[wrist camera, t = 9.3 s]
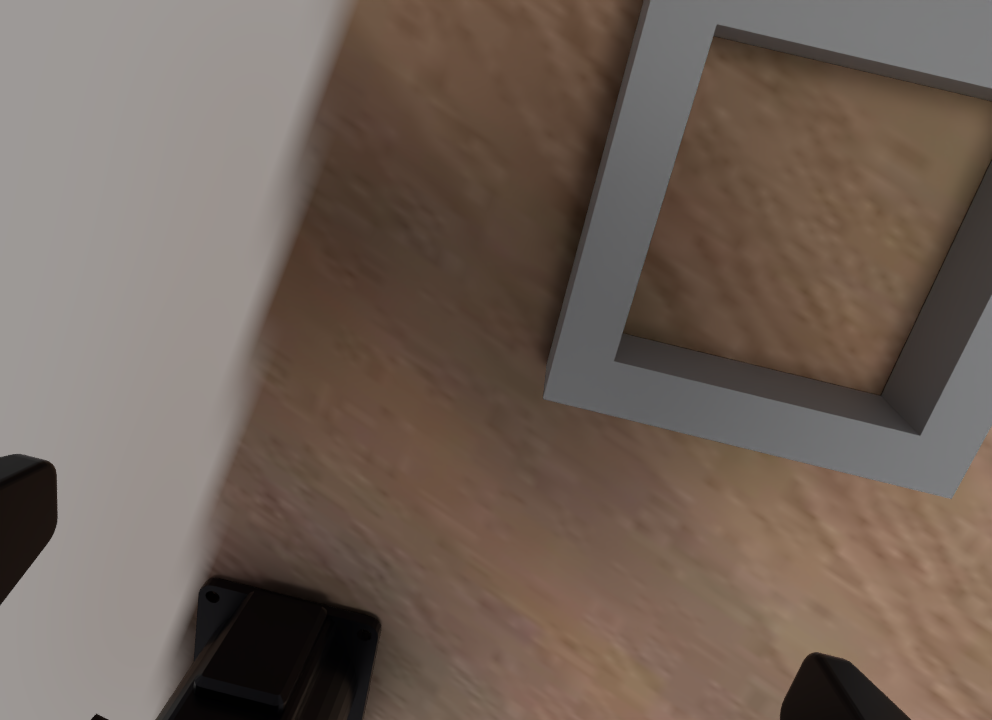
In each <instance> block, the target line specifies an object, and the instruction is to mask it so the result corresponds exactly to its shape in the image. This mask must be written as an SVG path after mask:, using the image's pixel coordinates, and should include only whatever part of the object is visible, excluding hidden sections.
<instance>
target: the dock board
mask: <svg viewBox="0 0 992 720" xmlns="http://www.w3.org/2000/svg"><path fill="white" fill-rule="evenodd" d="M713 36H716V37H720V38H724V39H729V40H733V41H737V42H741V43H746V44H750V45H754V46H758V47H763V48H767V49H771V50H776V51H780V52H784V53H788V54H793V55H797V56H801V57H805V58H810V59H814V60H818V61H822V62H827V63H831V64H835V65H839V66H844V67H848V68H852V69H857V70H861V71H865V72H869V73H874V74H878V75H882V76H886V77H891V78H895V79H899V80H903V81H908V82H912V83H916V84H921V85H925V86H929V87H933V88H938V89H942V90H946V91H950V92H955V93H959V94H963V95H967V96H972V97H976V98H980V99H985V100H989V101H992V0H644V1H643V5H642V8H641V12H640V16H639V20H638V23H637V27H636V31H635V35H634V38H633V42H632V46H631V50H630V53H629V57H628V61H627V65H626V68H625V72H624V76H623V80H622V83H621V87H620V91H619V95H618V98H617V102H616V106H615V110H614V113H613V117H612V121H611V125H610V128H609V132H608V136H607V140H606V143H605V147H604V151H603V155H602V158H601V162H600V166H599V170H598V173H597V177H596V181H595V185H594V188H593V192H592V196H591V200H590V203H589V207H588V211H587V215H586V218H585V222H584V226H583V230H582V233H581V237H580V241H579V245H578V248H577V252H576V256H575V260H574V263H573V267H572V271H571V275H570V278H569V282H568V286H567V290H566V293H565V297H564V301H563V305H562V308H561V312H560V316H559V320H558V323H557V327H556V331H555V335H554V338H553V342H552V346H551V350H550V353H549V357H548V361H547V365H546V375H545V384H544V394H543V399H545V400H549V401H553V402H557V403H561V404H565V405H570V406H574V407H578V408H582V409H586V410H590V411H594V412H598V413H602V414H606V415H610V416H615V417H619V418H623V419H627V420H631V421H635V422H639V423H643V424H647V425H651V426H655V427H660V428H664V429H668V430H672V431H676V432H680V433H684V434H688V435H692V436H696V437H700V438H705V439H709V440H713V441H717V442H721V443H725V444H729V445H733V446H737V447H741V448H745V449H750V450H754V451H758V452H762V453H766V454H770V455H774V456H778V457H782V458H786V459H790V460H795V461H799V462H803V463H807V464H811V465H815V466H819V467H823V468H827V469H831V470H835V471H840V472H844V473H848V474H852V475H856V476H860V477H864V478H868V479H872V480H876V481H880V482H884V483H889V484H893V485H897V486H901V487H905V488H909V489H913V490H917V491H921V492H925V493H929V494H934V495H938V496H942V497H946V498H950V499H952V497H953V495H954V494H955V492H956V490H957V488H958V486H959V484H960V483H961V481H962V479H963V477H964V475H965V473H966V472H967V470H968V468H969V466H970V464H971V462H972V461H973V459H974V457H975V455H976V453H977V452H978V450H979V448H980V446H981V444H982V442H983V441H984V439H985V437H986V435H987V433H988V431H989V430H990V428H991V426H992V161H991V163H990V166H989V168H988V170H987V172H986V174H985V176H984V178H983V180H982V183H981V185H980V187H979V189H978V191H977V193H976V195H975V197H974V200H973V202H972V204H971V206H970V208H969V210H968V212H967V214H966V216H965V219H964V221H963V223H962V225H961V227H960V229H959V231H958V233H957V236H956V238H955V240H954V242H953V244H952V246H951V248H950V250H949V253H948V255H947V257H946V259H945V261H944V263H943V265H942V267H941V270H940V272H939V274H938V276H937V278H936V280H935V282H934V284H933V287H932V289H931V291H930V293H929V295H928V297H927V299H926V301H925V304H924V306H923V308H922V310H921V312H920V314H919V316H918V318H917V321H916V323H915V325H914V327H913V329H912V331H911V333H910V335H909V338H908V340H907V342H906V344H905V346H904V348H903V350H902V352H901V354H900V357H899V359H898V361H897V363H896V365H895V367H894V369H893V371H892V374H891V376H890V378H889V380H888V382H887V384H886V386H885V388H884V391H883V393H882V395H881V396H879V395H875V394H871V393H867V392H863V391H859V390H855V389H850V388H846V387H842V386H838V385H834V384H830V383H826V382H822V381H817V380H813V379H809V378H805V377H801V376H797V375H793V374H789V373H784V372H780V371H776V370H772V369H768V368H764V367H760V366H756V365H751V364H747V363H743V362H739V361H735V360H731V359H727V358H723V357H718V356H714V355H710V354H706V353H702V352H698V351H694V350H690V349H685V348H681V347H677V346H673V345H669V344H665V343H661V342H657V341H652V340H648V339H644V338H640V337H636V336H632V335H628V334H624V333H623V330H624V326H625V323H626V320H627V317H628V313H629V310H630V307H631V304H632V300H633V297H634V294H635V290H636V287H637V284H638V281H639V277H640V274H641V271H642V268H643V264H644V261H645V258H646V254H647V251H648V248H649V245H650V241H651V238H652V235H653V232H654V228H655V225H656V222H657V218H658V215H659V212H660V209H661V205H662V202H663V199H664V196H665V192H666V189H667V186H668V182H669V179H670V176H671V173H672V169H673V166H674V163H675V160H676V156H677V153H678V150H679V146H680V143H681V140H682V137H683V133H684V130H685V127H686V124H687V120H688V117H689V114H690V110H691V107H692V104H693V101H694V97H695V94H696V91H697V88H698V84H699V81H700V78H701V74H702V71H703V68H704V65H705V61H706V58H707V55H708V52H709V48H710V45H711V42H712V38H713Z"/></svg>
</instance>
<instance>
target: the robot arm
mask: <svg viewBox="0 0 992 720" xmlns="http://www.w3.org/2000/svg"><path fill="white" fill-rule="evenodd" d="M56 525H57V475H56V469H55V467H54V466H53V464H51V463H50V462H49V461H46V460H43V459H39V458H35V457H30V456H27V455H22V454H13V455H8V456H4V457H0V605H1V604H2V602H3V601H4V600H5V598H6V597H7V596H8V594H9V593H10V592H11V590H12V589H13V588H14V587H15V585H16V584H17V583H18V581H19V580H20V579H21V577H22V576H23V575H24V574H25V572H26V571H27V570H28V568H29V567H30V566H31V564H32V563H33V562H34V560H35V559H36V558H37V556H38V555H39V554H40V552H41V551H42V550H43V549H44V547H45V546H46V545H47V543H48V542H49V541H50V539H51V537H52V535H53V534H54V531H55V528H56ZM212 591H214V592H216V593H217V594H218V595H216V594H214V593H213V592H212ZM362 629H365V630H367V631H369V632H370V633H366V632H364V631H363V630H362ZM380 633H381V626H380V624H379V622H378V621H377V620H376V619H375V618H372V617H370V616H366V615H362V614H358V613H355V612H351V611H347V610H343V609H339V608H335V607H331V606H327V605H323V604H319V603H315V602H311V601H307V600H303V599H299V598H295V597H291V596H287V595H283V594H279V593H275V592H271V591H267V590H263V589H259V588H255V587H251V586H247V585H243V584H239V583H235V582H231V581H227V580H223V579H219V578H212V579H209V580H208V581H206V582H205V584H204V585H203V586H202V588H201V589H200V592H199V598H198V611H197V625H196V639H195V653H194V663H193V664H192V666H191V667H190V669H189V670H188V672H187V673H186V675H185V676H184V678H183V679H182V681H181V682H180V684H179V685H178V687H177V688H176V690H175V691H174V693H173V694H172V696H171V697H170V699H169V700H168V702H167V703H166V705H165V706H164V708H163V709H162V711H161V713H160V714H159V716H158V717H157V719H156V720H363V718H364V713H365V708H366V703H367V698H368V693H369V688H370V683H371V678H372V673H373V668H374V663H375V658H376V653H377V648H378V643H379V638H380ZM91 720H108V719H106V718H103V717H102V716H100V715H98V714H96V715H95V716H94V717H93V718H92V719H91ZM780 720H911V719H910V718H909V717H908V716H907V715H906V714H905V713H904V712H903V711H902V710H900V709H899V708H898V707H897V706H896V705H895V704H894V703H893V702H892V701H891V700H890V699H889V698H888V697H887V696H886V695H885V694H884V693H883V692H882V691H880V690H879V689H878V688H877V687H876V686H875V685H874V684H873V683H872V682H871V681H870V680H869V679H868V678H867V677H866V676H865V675H864V674H863V673H862V672H860V671H859V670H858V669H857V668H856V667H855V666H854V665H853V664H852V663H851V662H849V661H847V660H845V659H842V658H839V657H834V656H830V655H826V654H822V653H818V652H815V653H811V654H809V655H808V656H807V657H806V658H805V659H804V661H803V663H802V665H801V667H800V669H799V671H798V673H797V675H796V677H795V679H794V681H793V683H792V685H791V687H790V688H789V690H788V692H787V694H786V696H785V698H784V701H783V703H782V707H781V712H780Z"/></svg>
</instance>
